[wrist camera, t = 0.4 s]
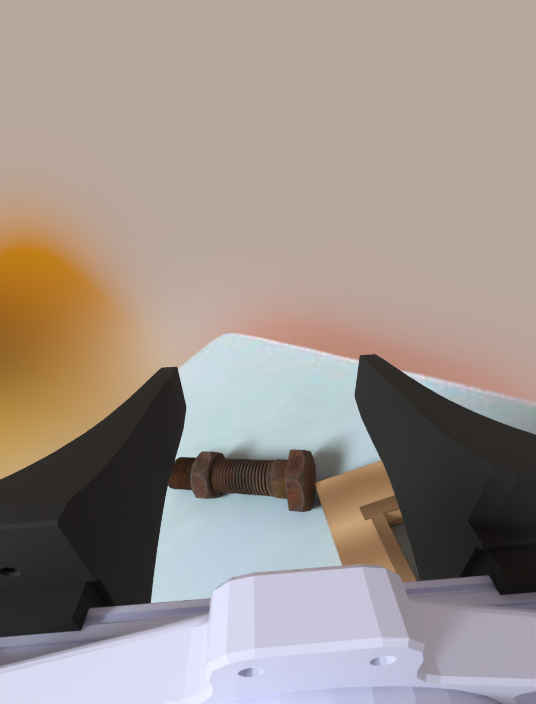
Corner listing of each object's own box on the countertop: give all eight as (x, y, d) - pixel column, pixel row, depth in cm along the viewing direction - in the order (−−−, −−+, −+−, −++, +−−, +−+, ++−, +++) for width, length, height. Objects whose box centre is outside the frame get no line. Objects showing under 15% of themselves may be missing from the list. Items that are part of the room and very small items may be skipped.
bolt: (190, 484, 37) (318, 493, 32) (163, 512, 32) (308, 528, 27) (182, 437, 36) (312, 438, 31) (153, 458, 31) (299, 463, 26)
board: (622, 643, 18) (642, 631, 17) (395, 719, 18) (394, 715, 17) (459, 450, 30) (462, 432, 28) (318, 497, 30) (314, 481, 28)
